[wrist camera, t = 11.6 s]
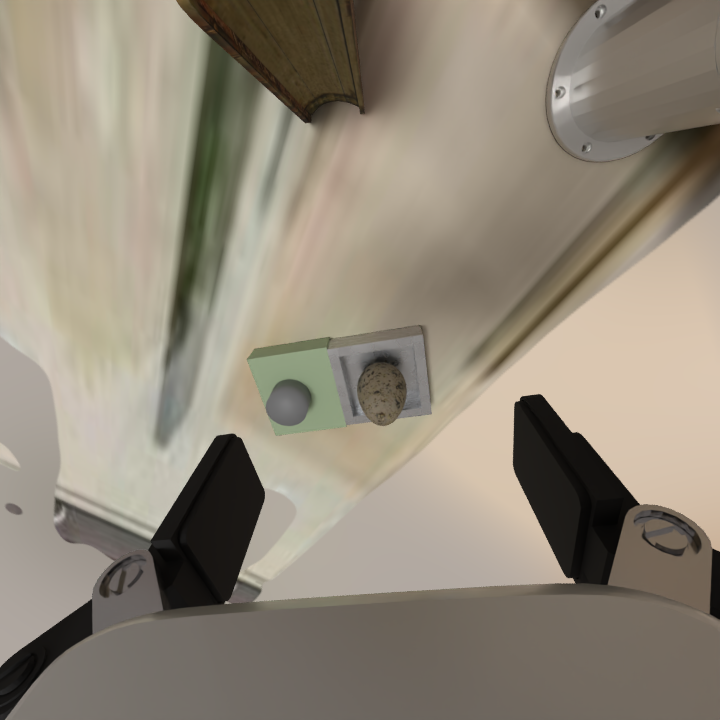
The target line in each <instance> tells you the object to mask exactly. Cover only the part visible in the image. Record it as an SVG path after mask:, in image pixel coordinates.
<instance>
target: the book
mask: <svg viewBox="0 0 720 720" xmlns="http://www.w3.org/2000/svg"><path fill="white" fill-rule="evenodd" d="M176 1H177V2H178V4H179V5H180V7H181V8H182V9H183V10H184V11H185V12H186V13H187V15H188V16H189V17H190V18H191V19H192V20H193V21H194V22H195V23H196V24H197V25H198V26H199V27H200V28H201V29H202V30H203V31H204V32H205V33H207V34H208V35H209V36H210V37H211V38H212V39H213V40H214V41H215V42H216V43H218V44H219V45H220V46H221V47H222V48H223V49H224V50H225V51H226V52H227V53H229V54H230V55H231V56H232V57H233V58H234V59H235V60H236V61H237V62H238V63H240V64H241V65H242V66H243V67H244V68H245V69H246V70H247V71H248V72H249V73H251V74H252V75H253V76H254V77H255V78H256V79H257V80H258V81H259V82H261V83H262V84H263V85H264V86H265V87H266V88H267V89H268V90H269V91H270V92H272V93H273V94H274V95H275V96H276V97H277V98H278V99H279V100H280V101H281V102H283V103H284V104H285V105H286V106H287V107H288V108H289V109H290V110H291V111H292V112H294V113H295V114H296V115H297V116H298V117H299V118H300V119H301V120H302V121H304V122H305V123H311V115H312V114H313V112H314V111H315V110H316V109H317V108H318V107H320V106H321V105H323V104H324V103H327V102H331V101H344V102H348V103H351V104H354V105H356V106H358V107H359V109H360V114H364V113H365V111H364V101H363V91H362V82H361V72H360V62H359V53H358V43H357V33H356V24H355V14H354V4H353V0H176Z"/></svg>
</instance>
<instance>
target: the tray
mask: <svg viewBox="0 0 720 720" xmlns="http://www.w3.org/2000/svg"><path fill="white" fill-rule="evenodd" d="M327 352H328V356H329V360H330V364H331V368H332V371H333V375H334V379H335V383H336V387H337V391H338V395H339V399H340V403H341V407H342V411H343V414H344V418H345V422H346V425H350V424H358V423H366V422H372V421H370V420H369V419H368V418H367V417H366V415H365V414H364V412H363V410H362V408H361V406H360V404H359V400H358V396H357V384H358V380H359V377H360V375H361V374H362V372H363V371H364V370H365V369H366V368H367V367H368V366H370V365H372V364H374V363H378V362H385V363H389V364H391V365H393V366H395V367H396V368H397V369H398V370H399V371H400V372H401V373H402V375H403V377H404V379H405V382H406V387H407V394H406V401H405V404H404V407H403V409H402V411H401V413H400V415H399V416H398V418H406V417H413V416H421V415H429V414H432V412H431V403H430V394H429V385H428V376H427V367H426V358H425V349H424V340H423V333H422V330H421V327H420V325H417V326H411V327H405V328H398V329H392V330H386V331H379V332H373V333H367V334H360V335H354V336H348V337H341V338H335V339H330V340H329V344H328V347H327ZM398 418H397V419H398Z"/></svg>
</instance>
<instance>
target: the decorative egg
mask: <svg viewBox="0 0 720 720" xmlns="http://www.w3.org/2000/svg"><path fill="white" fill-rule="evenodd" d="M406 394H407V387H406V382H405V379H404V377H403V375H402V373H401V372H400V371H399V370H398V369H397V368H396V367H395V366H393V365H391V364H389V363H385V362H378V363H374V364H372V365H370V366H368V367H367V368H366V369H365V370H364V371H363V372H362V374H361V375H360V377H359V380H358V384H357V396H358V400H359V404H360V406H361V408H362V410H363V412H364V414H365V415H366V417H367V418H368V419H369V420H370V421H372V422H373V423H375V424H377V425H380V426H386V425H389V424H391V423H393V422H394V421H395V420H396V419H397V418H398V416H399V415H400V413H401V411H402V409H403V407H404V404H405V401H406Z"/></svg>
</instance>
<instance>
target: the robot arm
mask: <svg viewBox="0 0 720 720" xmlns="http://www.w3.org/2000/svg"><path fill="white" fill-rule="evenodd" d="M595 13H596V14H597V18H596V17H595ZM555 91H557V92H558V96H557V97H555ZM546 108H547V117H548V121H549V125H550V129H551V131H552V133H553V135H554V137H555V139H556V141H557V142H558V143H559V144H560V145H561V147H562V148H563V149H564V150H565V151H567V152H568V153H569V154H571V155H572V156H574V157H576V158H579V159H582V160H584V161H591V162H606V161H613V160H618V159H622V158H625V157H628V156H630V155H633V154H635V153H637V152H639V151H640V150H642V149H644V148H646V147H647V146H649V145H650V144H652V143H653V142H654V141H655V140H657V139H658V138H659V137H660V136H662V135H663V134H664V133H668V132H674V131H680V130H685V129H691V128H697V127H703V126H708V125H714V124H720V0H598V1H596V2H595V3H594V4H593V5H592V6H591V7H590V8H589V9H588V10H587V11H586V12H585V13H584V14H583V15H582V16H581V17H580V18H579V19H578V21H577V22H576V23H575V25H574V26H573V27H572V28H571V30H570V31H569V32H568V34H567V36H566V38H565V39H564V41H563V43H562V45H561V46H560V48H559V50H558V53H557V55H556V58H555V60H554V63H553V65H552V68H551V72H550V76H549V80H548V84H547V95H546ZM645 136H646V137H645ZM583 146H584V150H583V151H582V147H583ZM513 447H514V448H513V467H514V471H515V474H516V476H517V478H518V480H519V483H520V485H521V486H522V489H523V491H524V493H525V495H526V497H527V499H528V501H529V503H530V505H531V507H532V509H533V511H534V513H535V515H536V517H537V519H538V521H539V523H540V526H541V528H542V530H543V532H544V534H545V536H546V538H547V540H548V542H549V544H550V546H551V548H552V550H553V552H554V554H555V556H556V558H557V560H558V563H559V565H560V567H561V569H562V571H563V573H564V574H565V576H566V577H567V578H573V579H574V581H575V583H576V584H533V585H513V586H512V585H511V586H490V587H474V588H457V589H441V590H425V591H424V590H423V591H407V592H392V593H378V594H377V593H376V594H361V595H347V596H332V597H316V598H302V599H288V600H274V601H260V602H246V603H233V604H224V603H225V601H228V600H229V599H230V597H231V595H232V592H233V589H234V586H235V584H236V581H237V578H238V575H239V572H240V569H241V566H242V563H243V560H244V558H245V555H246V552H247V549H248V546H249V543H250V540H251V537H252V535H253V532H254V529H255V526H256V523H257V520H258V517H259V514H260V511H261V509H262V505H263V503H264V499H265V491H264V488H263V486H262V484H261V482H260V479H259V477H258V475H257V473H256V470H255V468H254V466H253V464H252V461H251V459H250V457H249V454H248V452H247V450H246V448H245V445H244V443H243V441H242V439H241V438H240V437H237V436H236V435H235V434H226V435H218V436H216V438H215V439H214V440H213V442H212V444H211V445H210V447H209V448H208V450H207V452H206V453H205V455H204V456H203V458H202V460H201V461H200V463H199V464H198V466H197V468H196V469H195V471H194V472H193V474H192V476H191V477H190V479H189V480H188V482H187V484H186V485H185V487H184V488H183V490H182V492H181V493H180V495H179V496H178V498H177V500H176V501H175V503H174V504H173V506H172V508H171V509H170V511H169V512H168V514H167V516H166V517H165V519H164V520H163V522H162V524H161V525H160V527H159V528H158V530H157V531H156V533H155V535H154V536H153V538H152V539H151V543H152V545H151V546H150V548H149V550H148V551H147V550H135V551H131V552H129V553H127V554H125V555H123V556H121V557H120V558H118V559H117V560H116V561H114V562H113V563H112V564H111V565H110V566H109V567H108V568H107V569H106V570H105V571H104V572H103V573H102V575H101V576H100V577H99V578H98V580H97V582H96V584H95V586H94V588H93V594H92V599H91V600H90V601H88V603H86V604H84V605H83V606H82V607H80V608H79V609H77V610H76V611H74V612H73V613H72V614H70V615H69V616H67V617H66V618H64V619H63V620H62V621H60V622H59V623H57V624H56V625H55V626H53V627H52V628H50V629H49V630H47V631H46V632H45V633H43V634H42V635H40V636H39V637H38V638H36V639H35V640H33V641H32V642H31V643H29V644H28V645H26V646H25V647H23V648H22V649H21V650H19V651H18V652H17V653H15V654H14V655H13V656H12V657H10V658H9V659H8V660H7V661H6V662H5V663H4V664H3V665H2V666H1V667H0V720H720V552H719V551H717V550H714V549H712V547H711V542H710V540H709V538H708V537H707V535H706V534H705V532H704V531H703V530H702V529H701V528H700V527H699V526H698V525H697V524H696V523H695V522H693V521H692V520H690V519H689V518H687V517H686V516H684V515H683V514H681V513H678V512H676V511H674V510H672V509H669V508H665V507H662V506H658V505H648V504H645V505H640V504H639V503H638V502H637V501H636V500H635V498H634V497H633V496H632V495H631V493H630V492H629V491H628V490H627V489H626V487H625V486H624V485H623V484H622V483H621V481H620V480H619V479H618V478H617V477H616V475H615V474H614V473H613V472H612V470H611V469H610V468H609V467H608V466H607V464H606V463H605V462H604V461H603V460H602V458H601V457H600V456H599V455H598V453H597V452H596V451H595V450H594V449H593V448H592V446H591V445H590V444H589V443H588V442H587V440H586V439H585V438H584V437H583V436H582V435H581V434H580V433H577V432H576V433H572V432H571V431H570V430H569V428H568V427H567V426H566V425H565V423H564V422H563V421H562V420H561V418H560V417H559V416H558V415H557V413H556V412H555V411H554V410H553V408H552V407H551V406H550V405H549V403H548V402H547V401H546V399H545V398H544V397H543V396H542V395H540V394H538V395H530V396H522V397H521V398H520V401H518V402H515V407H514V445H513Z"/></svg>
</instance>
